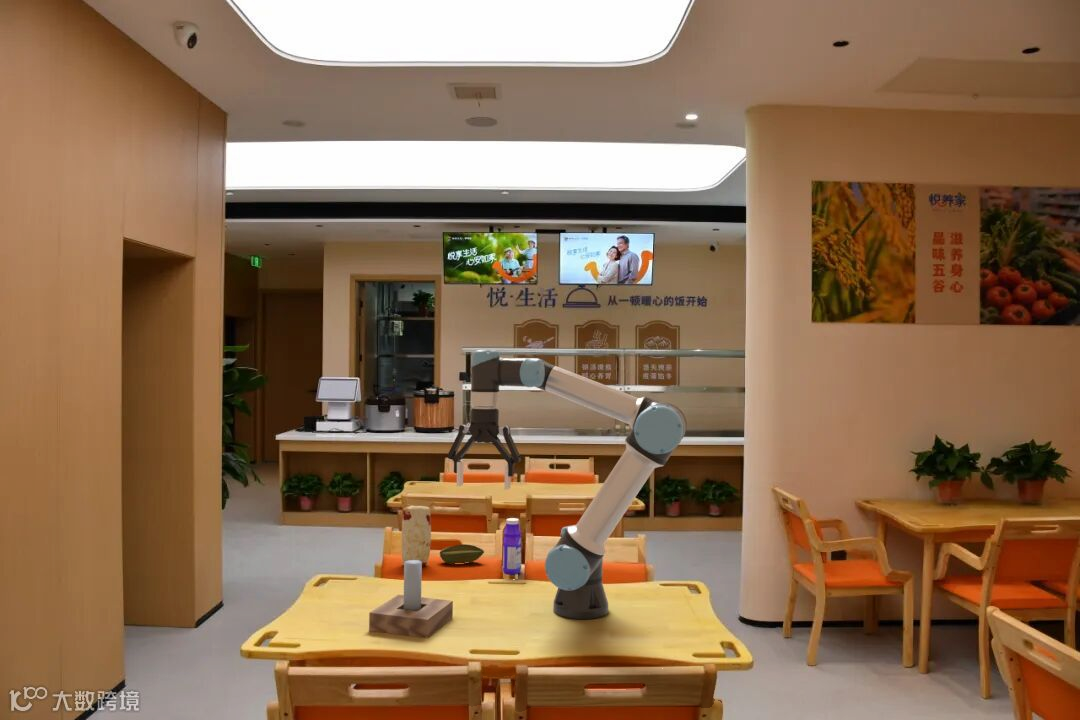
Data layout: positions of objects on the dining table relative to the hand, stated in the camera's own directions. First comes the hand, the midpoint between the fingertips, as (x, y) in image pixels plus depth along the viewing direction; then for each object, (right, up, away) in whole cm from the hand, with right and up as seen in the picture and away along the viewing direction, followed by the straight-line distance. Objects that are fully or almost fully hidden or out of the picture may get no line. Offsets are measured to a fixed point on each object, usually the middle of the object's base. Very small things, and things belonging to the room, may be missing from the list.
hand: (483, 487), depth 209 cm
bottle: (+6, -35, +44) cm, 56 cm away
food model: (-26, -35, +51) cm, 67 cm away
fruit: (-12, -35, +55) cm, 66 cm away
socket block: (-18, -34, -6) cm, 39 cm away
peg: (-18, -34, -6) cm, 39 cm away
